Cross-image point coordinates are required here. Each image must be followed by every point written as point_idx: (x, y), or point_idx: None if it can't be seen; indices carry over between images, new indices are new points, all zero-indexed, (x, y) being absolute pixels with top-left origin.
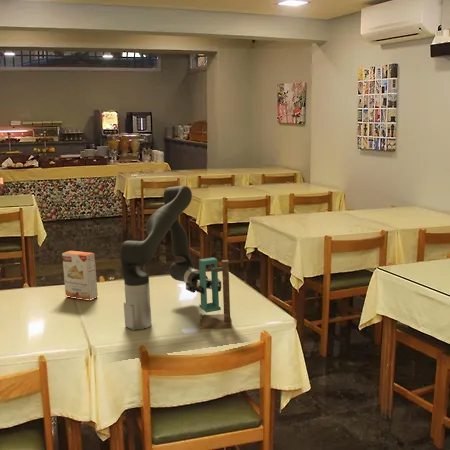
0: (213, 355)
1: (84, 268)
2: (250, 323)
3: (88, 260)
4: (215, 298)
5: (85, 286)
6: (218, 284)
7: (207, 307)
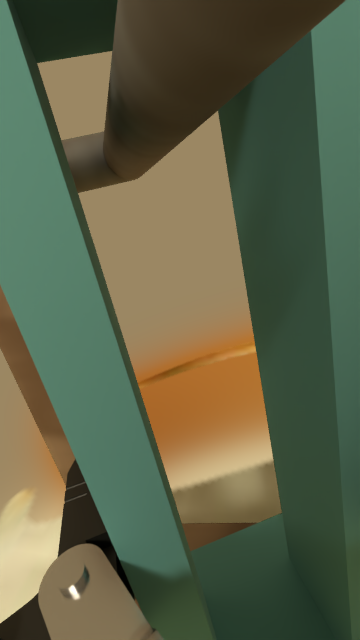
0: (240, 347)
1: None
2: (18, 607)
3: None
4: (187, 542)
5: None
6: (58, 555)
7: (291, 579)
